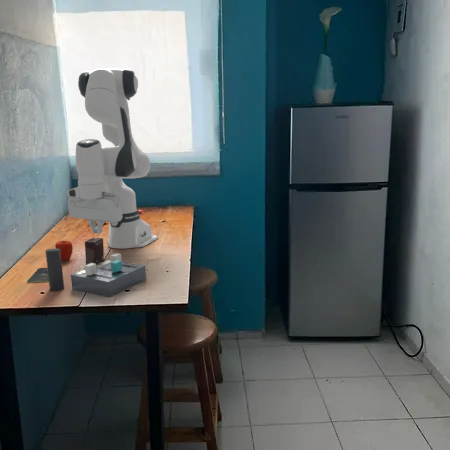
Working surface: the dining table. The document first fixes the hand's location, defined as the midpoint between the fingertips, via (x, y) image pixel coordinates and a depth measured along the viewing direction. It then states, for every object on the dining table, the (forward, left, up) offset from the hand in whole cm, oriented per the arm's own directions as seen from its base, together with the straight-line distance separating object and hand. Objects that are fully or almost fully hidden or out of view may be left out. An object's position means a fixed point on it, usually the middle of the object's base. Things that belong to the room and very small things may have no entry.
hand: (97, 232), depth 175 cm
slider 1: (+6, +2, -12) cm, 14 cm away
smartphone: (+3, -24, -18) cm, 30 cm away
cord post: (+11, -9, -17) cm, 22 cm away
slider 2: (-6, +2, -12) cm, 13 cm away
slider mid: (0, +8, -12) cm, 14 cm away
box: (-7, -9, -17) cm, 21 cm away
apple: (-14, -31, -17) cm, 38 cm away
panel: (0, +4, -17) cm, 18 cm away
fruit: (-65, -61, -17) cm, 90 cm away
